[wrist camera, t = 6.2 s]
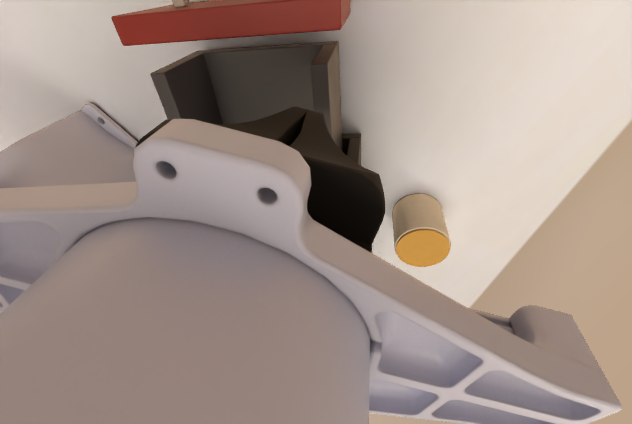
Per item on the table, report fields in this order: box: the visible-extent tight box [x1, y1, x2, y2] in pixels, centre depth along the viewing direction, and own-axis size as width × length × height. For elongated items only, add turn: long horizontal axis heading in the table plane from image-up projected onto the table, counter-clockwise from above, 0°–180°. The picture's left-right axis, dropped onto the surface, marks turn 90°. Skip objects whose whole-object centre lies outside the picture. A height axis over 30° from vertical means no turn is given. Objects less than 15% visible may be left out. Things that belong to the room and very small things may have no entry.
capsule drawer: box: [112, 0, 350, 151], centre depth 17 cm, size 16×10×6 cm, turn 5°
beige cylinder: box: [392, 194, 451, 267], centre depth 24 cm, size 4×4×4 cm
